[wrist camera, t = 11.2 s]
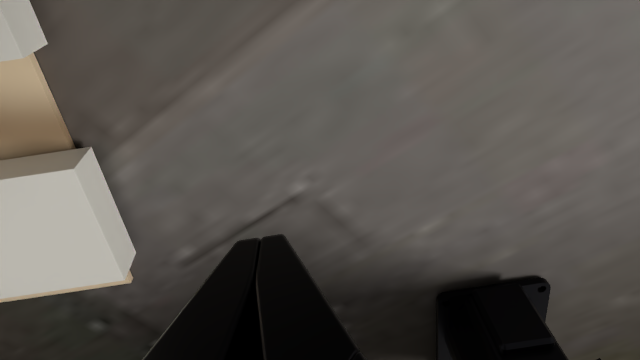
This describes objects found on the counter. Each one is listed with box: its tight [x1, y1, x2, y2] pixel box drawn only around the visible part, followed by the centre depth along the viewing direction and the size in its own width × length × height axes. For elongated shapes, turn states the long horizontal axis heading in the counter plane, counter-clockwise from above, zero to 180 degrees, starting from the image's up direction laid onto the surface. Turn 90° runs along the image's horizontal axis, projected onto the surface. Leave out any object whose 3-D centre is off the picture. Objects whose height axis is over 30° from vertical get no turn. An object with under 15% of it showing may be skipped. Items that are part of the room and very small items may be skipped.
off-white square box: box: [0, 147, 136, 299], centre depth 21 cm, size 6×2×7 cm
